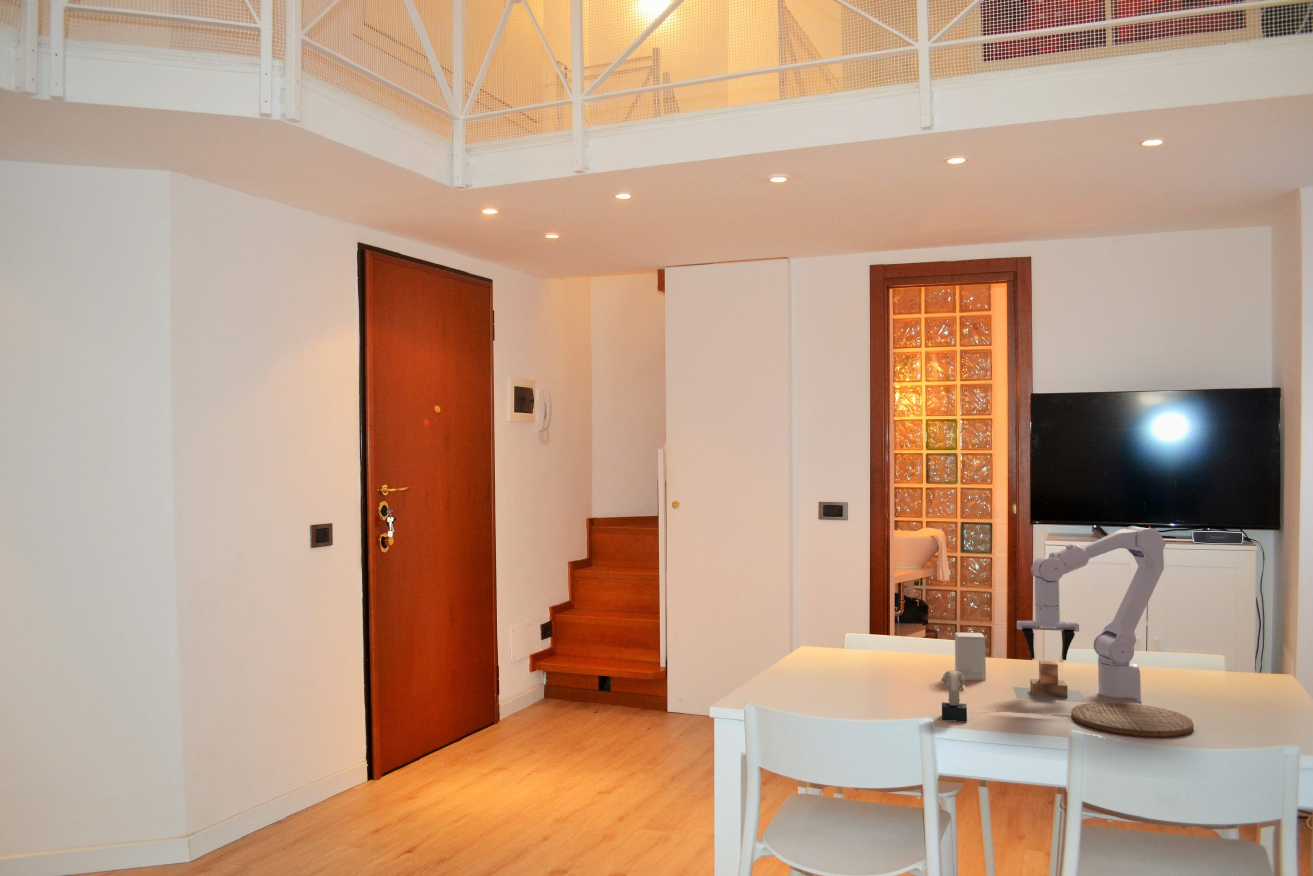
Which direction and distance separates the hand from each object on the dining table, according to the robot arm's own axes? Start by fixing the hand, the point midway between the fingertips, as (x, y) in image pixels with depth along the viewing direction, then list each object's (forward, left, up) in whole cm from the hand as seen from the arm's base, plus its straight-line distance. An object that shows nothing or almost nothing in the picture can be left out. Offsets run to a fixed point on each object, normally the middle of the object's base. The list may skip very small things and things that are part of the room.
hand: (1048, 658), depth 243 cm
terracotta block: (0, 0, -6) cm, 6 cm away
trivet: (-15, +20, -10) cm, 27 cm away
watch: (+24, +26, -10) cm, 37 cm away
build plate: (0, 0, -10) cm, 10 cm away
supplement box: (+18, -16, -10) cm, 26 cm away
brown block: (0, 0, -9) cm, 9 cm away
